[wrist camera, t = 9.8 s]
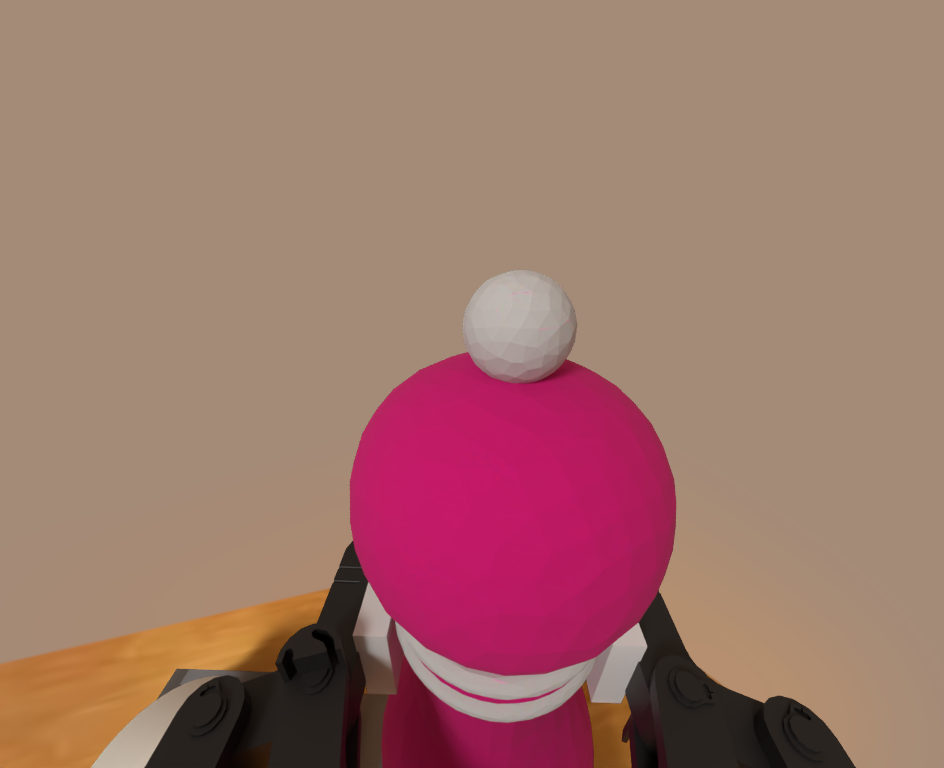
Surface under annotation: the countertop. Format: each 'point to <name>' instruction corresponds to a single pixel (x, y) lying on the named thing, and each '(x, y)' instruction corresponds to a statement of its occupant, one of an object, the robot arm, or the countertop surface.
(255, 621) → the countertop surface
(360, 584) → the robot arm
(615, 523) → the pepper mill
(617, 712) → the countertop surface
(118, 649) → the countertop surface
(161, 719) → the white glossy dome
